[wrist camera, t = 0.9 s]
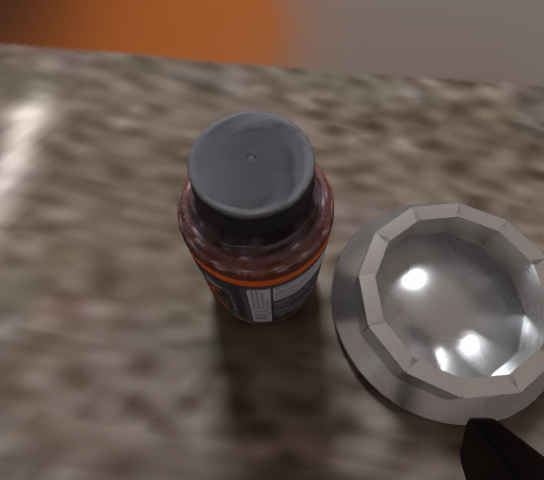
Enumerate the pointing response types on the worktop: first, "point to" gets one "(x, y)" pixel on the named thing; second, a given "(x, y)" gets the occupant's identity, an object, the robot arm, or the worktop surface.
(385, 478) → the worktop surface
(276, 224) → the supplement bottle
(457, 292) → the faceted metal ring
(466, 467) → the robot arm
